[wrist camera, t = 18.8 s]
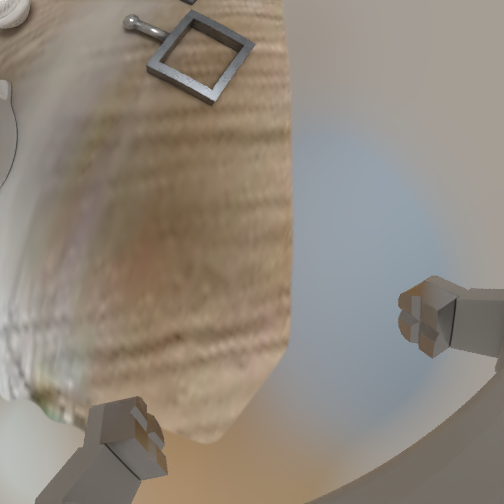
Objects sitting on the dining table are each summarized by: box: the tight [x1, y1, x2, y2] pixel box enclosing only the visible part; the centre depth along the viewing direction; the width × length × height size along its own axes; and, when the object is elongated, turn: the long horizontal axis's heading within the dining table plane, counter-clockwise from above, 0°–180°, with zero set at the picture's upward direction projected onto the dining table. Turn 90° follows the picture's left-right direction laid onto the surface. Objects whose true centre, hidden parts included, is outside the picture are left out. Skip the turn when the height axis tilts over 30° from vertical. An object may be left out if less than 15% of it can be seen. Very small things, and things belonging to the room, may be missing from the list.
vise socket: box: [123, 9, 256, 106], centre depth 28 cm, size 16×9×2 cm, turn 59°
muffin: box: [0, 0, 31, 29], centre depth 17 cm, size 6×6×7 cm
